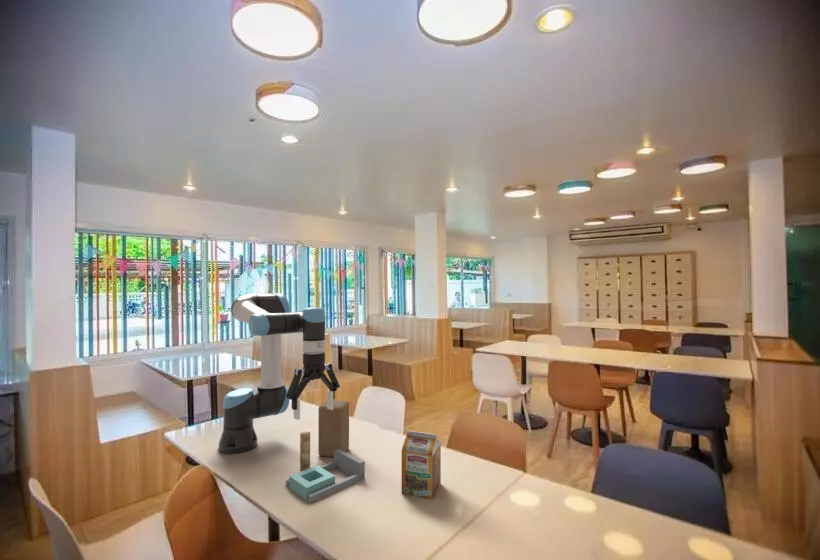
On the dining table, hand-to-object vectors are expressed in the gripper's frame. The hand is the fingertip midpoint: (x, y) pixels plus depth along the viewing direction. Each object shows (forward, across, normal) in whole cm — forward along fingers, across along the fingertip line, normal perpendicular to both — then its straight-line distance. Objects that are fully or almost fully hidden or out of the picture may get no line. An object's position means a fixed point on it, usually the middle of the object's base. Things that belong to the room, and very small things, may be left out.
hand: (314, 413), depth 137 cm
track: (+24, +4, -2) cm, 25 cm away
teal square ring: (+24, -2, -1) cm, 24 cm away
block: (+24, +20, +16) cm, 36 cm away
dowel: (+24, +3, +11) cm, 27 cm away
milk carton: (+25, +23, -29) cm, 45 cm away
